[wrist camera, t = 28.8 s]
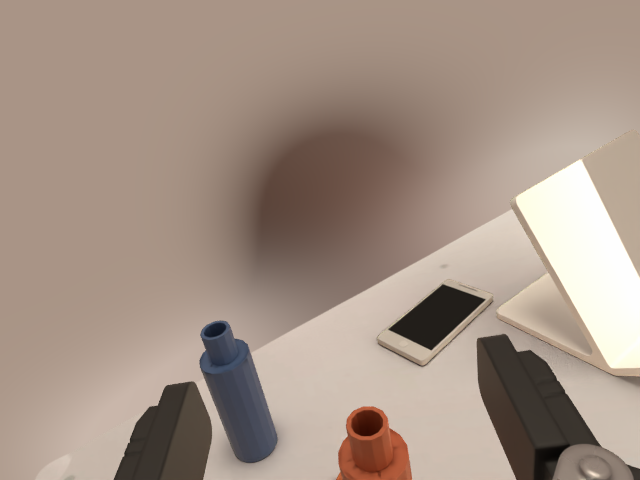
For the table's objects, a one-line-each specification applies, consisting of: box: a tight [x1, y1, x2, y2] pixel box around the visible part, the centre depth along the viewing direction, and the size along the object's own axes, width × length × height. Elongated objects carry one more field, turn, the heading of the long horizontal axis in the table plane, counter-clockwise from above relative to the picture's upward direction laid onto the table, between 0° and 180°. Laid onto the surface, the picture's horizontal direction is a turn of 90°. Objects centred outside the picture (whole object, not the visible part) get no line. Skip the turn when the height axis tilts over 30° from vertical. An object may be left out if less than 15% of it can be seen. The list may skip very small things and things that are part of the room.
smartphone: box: [377, 279, 493, 366], centre depth 61 cm, size 7×15×1 cm, turn 132°
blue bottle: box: [200, 321, 277, 462], centre depth 46 cm, size 5×5×15 cm
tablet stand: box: [497, 130, 640, 376], centre depth 54 cm, size 18×25×17 cm
